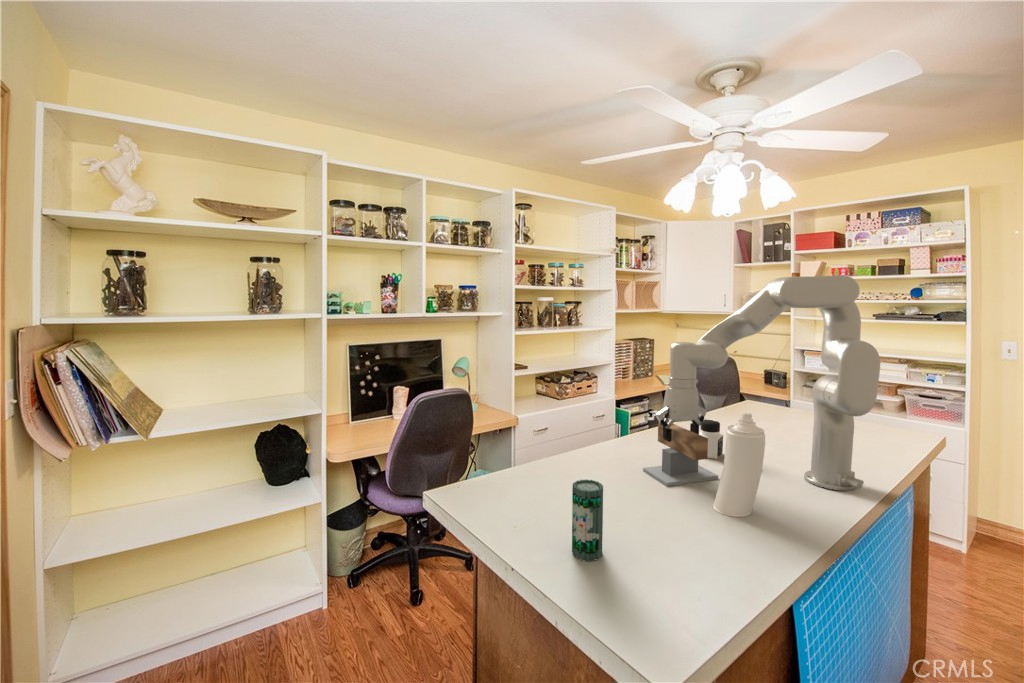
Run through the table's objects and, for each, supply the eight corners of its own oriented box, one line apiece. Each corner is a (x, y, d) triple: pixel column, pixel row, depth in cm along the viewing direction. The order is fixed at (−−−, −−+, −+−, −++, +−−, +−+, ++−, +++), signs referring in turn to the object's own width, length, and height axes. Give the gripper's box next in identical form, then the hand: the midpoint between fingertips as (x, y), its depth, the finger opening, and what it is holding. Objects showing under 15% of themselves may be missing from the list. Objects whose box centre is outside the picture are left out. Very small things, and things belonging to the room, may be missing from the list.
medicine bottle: (717, 459, 151) (719, 424, 150) (695, 455, 155) (696, 421, 154) (722, 453, 157) (724, 419, 155) (701, 449, 161) (702, 416, 160)
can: (567, 554, 96) (567, 486, 95) (581, 542, 101) (582, 477, 99) (593, 564, 92) (593, 494, 91) (606, 551, 97) (607, 484, 96)
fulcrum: (718, 478, 135) (719, 452, 135) (666, 486, 130) (667, 459, 129) (691, 464, 147) (692, 440, 146) (643, 471, 142) (643, 446, 141)
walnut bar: (707, 458, 130) (708, 438, 129) (695, 460, 128) (696, 439, 128) (668, 439, 147) (668, 421, 146) (657, 441, 146) (658, 422, 145)
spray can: (721, 494, 124) (724, 405, 122) (764, 506, 118) (769, 411, 115) (708, 510, 115) (712, 414, 113) (755, 523, 109) (760, 421, 106)
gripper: (698, 379, 142) (696, 432, 143) (650, 382, 137) (648, 438, 138) (715, 383, 135) (713, 439, 136) (665, 387, 130) (663, 445, 131)
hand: (680, 438), depth 137 cm, fingers open, 9 cm apart
